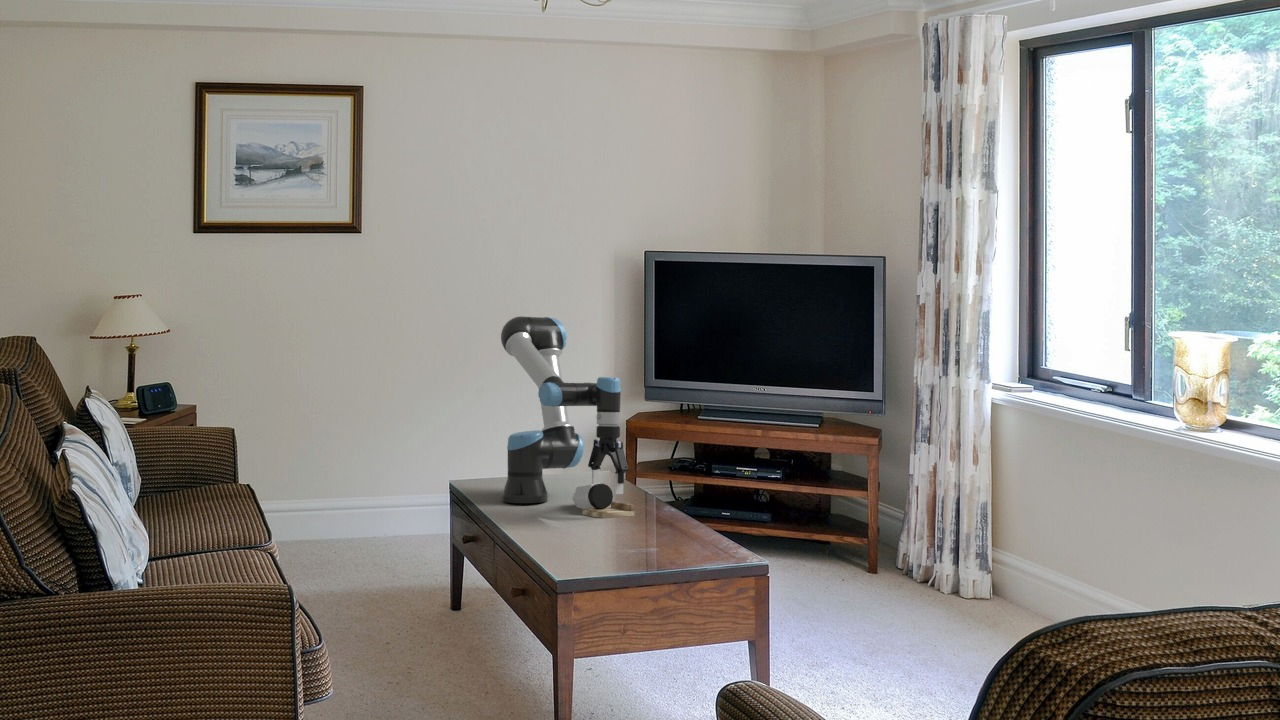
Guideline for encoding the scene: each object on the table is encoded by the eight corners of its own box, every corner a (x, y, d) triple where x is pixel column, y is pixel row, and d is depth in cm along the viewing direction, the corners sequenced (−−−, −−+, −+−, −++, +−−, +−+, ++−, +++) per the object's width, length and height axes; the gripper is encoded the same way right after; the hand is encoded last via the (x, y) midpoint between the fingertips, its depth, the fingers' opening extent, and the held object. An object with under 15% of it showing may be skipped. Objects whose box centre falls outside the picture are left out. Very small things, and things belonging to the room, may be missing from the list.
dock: (582, 514, 350) (582, 503, 350) (613, 512, 356) (613, 501, 356) (602, 518, 340) (602, 506, 340) (634, 515, 346) (634, 504, 346)
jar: (572, 511, 357) (591, 509, 347) (570, 486, 358) (590, 483, 348) (595, 510, 362) (615, 507, 352) (593, 485, 363) (613, 482, 353)
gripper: (578, 423, 357) (577, 488, 357) (619, 427, 336) (618, 496, 336) (597, 423, 361) (597, 487, 361) (639, 426, 340) (639, 495, 340)
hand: (607, 492), depth 348 cm, fingers open, 13 cm apart
